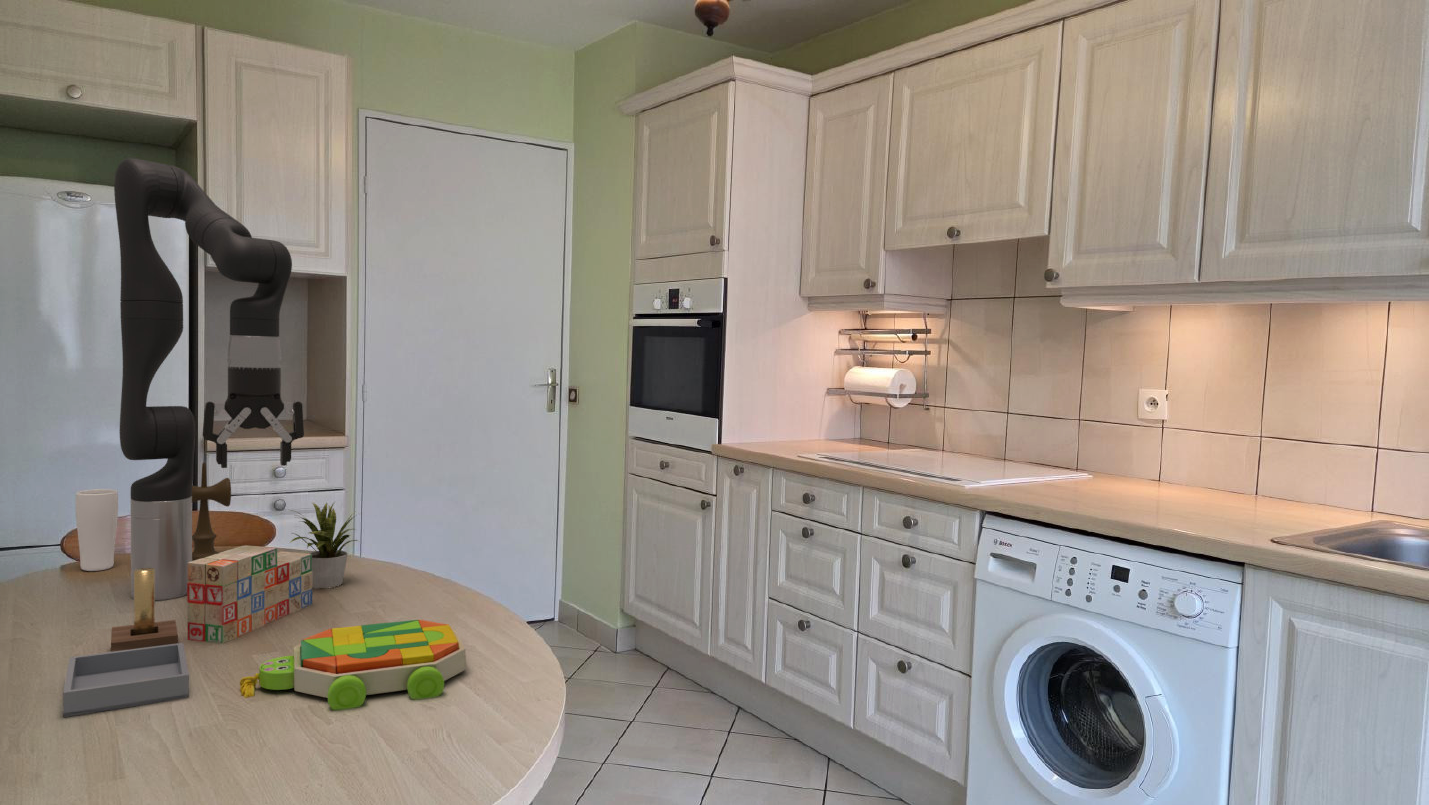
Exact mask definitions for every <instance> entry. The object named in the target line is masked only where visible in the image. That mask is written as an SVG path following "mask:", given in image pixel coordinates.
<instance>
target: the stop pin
mask: <svg viewBox="0 0 1429 805" xmlns="http://www.w3.org/2000/svg"><path fill="white" fill-rule="evenodd" d="M155 601H156V600H155V569H154V568H140V569H136V570H134V599H133V605H134V606H133V609H134V610H133V625H134V636H136V635H144V634H153V633H155V622H156V620H155V611H156V610H155V606H156V603H155Z"/></svg>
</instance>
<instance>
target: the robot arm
mask: <svg viewBox="0 0 1429 805" xmlns="http://www.w3.org/2000/svg"><path fill="white" fill-rule="evenodd" d="M113 184H114V185H113V186H114V189H113V190H114V191H113V193H114V194H113V195H114V204H115V214H116V215H115V216H116V222H117V231H118V239H119V240H118V241H119V252H120V254H119V255H120V256H119V257H120V299H119V300H120V302H119V303H120V305H119V306H120V309H119V310H120V328H121V329H120V330H121V332H120V334H121V349H122V350H121V351H122V352H121V353H122V354H121V355H122V380H121V397H120V413H119V414H120V415H119V444H120V449H121V452H122V454H123V456H124V457H125V458H126V459H127V460H130V461H147V460H149V461H150V460H165V459H166V460H167V461H166V463H165V464H164V465H163V467H161V468H160V469H159V470H157V471H156V472H154V473H152V474H150V475H147V476H145V477H142V478H140V479H137V480H135V481H134V482H132V483H131V486H130V598H132V599H133V600H134V570H136V569H140V568H154V569H155V601H164V600H165V601H166V600H171V599H177V598H181V597H184V596H187V583H188V562H191V561H193V560H192V553H193V540H192V535H193V503H192V485H193V484H194V483H193V481H194V466H195V465H194V462H195V461H194V460H195V450H196V448H195V447H196V445H195V444H196V421H195V416H194V414H193V412H192V411H191V409H190V408H188V407H187V406H183V405H166V406H165V405H160V406H158V405H156V406H152V405H151V406H147V401H148V393H149V391H150V386H151V383H152V381H153V379H154V377H155V375H156V374H157V372H158V370H159V368H161V366H162V364H164V362H165V360H166V359H167V357H169V355H170V354H171V352H172V351H173V349H174V347H175V346H176V344H177V343H178V342H179V340H180V338H181V336H182V334H183V331H184V298H183V297H184V296H183V292H182V289H181V287H180V285H179V283H178V281H177V280H176V278H175V276H174V274H172V272H171V270H170V269H169V267H168V265H167V264H166V263H165V261H164V260H163V258H162V257H161V255H160V254H159V252H158V250H157V248H156V246H155V244H154V240H153V239H152V233H151V228H150V223H149V221H150V220H149V216H150V217H155V218H161V219H177V220H181V221H183V222H184V226H185V231H186V234H187V235H188V237H189V238H190V239H191V241H192V242H193V243H194V244H195V245H196V246H198V247H199V248H200V249H201V250H203V251H204V252H205V253H207V254H208V255H209V256H210V257H211V260H212V261H213V263H214V264H215V266H216V269H217V271H218V272H219V273H220V275H221V276H223V277H225V278H226V279H229V280H231V281H234V282H241V283H251V284H257V288H256V290H255V292H254V294H253V295H252V296H247V297H240V298H236V299H234V300H233V301H232V302H231V303H230V306H229V340H228V341H229V342H228V348H227V398H226V400H225V402H215V401H211V400H207V401H206V402H205V403H204V411H203V412H204V413H203V424H202V438H203V439H204V440H205V441H209V442H213V443H215V453H216V455H215V460H216V463H217V464H218V465H220V467H221V468H222V469H227V468H228V444H227V443H226V442H227V441H228V439H229V438H230V437H231V436H232V435H233V434H234V433H236V432H235V431H237V429H238V428H241V429H244V430H251V429H255V428H256V429H260V430H263V429H264V430H265V429H267V428H270V427H271V428H272V429H273V430H274V432H276V433H275V434H277V435H278V436H279V437H280V439H281V441H280V445H279V447H280V453H279V454H280V455H279V456H280V457H279V458H280V463H279V464H280V465H281V467H283V466H287V465H288V463H290V462H291V461H292V444H293V442H294V441H295V440H299V439H303V438H304V436H305V431H304V428H305V427H304V414H303V403H302V402H301V401H298V400H294V401H290V402H289V401H287V402H283V400H282V396H281V394H282V393H281V390H282V388H281V387H282V386H281V383H282V382H281V381H282V379H281V378H282V375H281V374H282V367H281V366H282V360H283V359H282V351H281V350H282V348H281V342H280V313H281V312H280V311H281V307H282V306H283V301H284V297H285V293H286V290H287V287H288V284H289V281H290V279H291V274H292V269H293V260H292V256H291V254H290V251H289V249H288V248H287V246H286V245H285V244H283V243H282V242H280V241H278V240H274V239H273V240H272V239H267V238H258V237H256V238H255V237H252V234H251V232H250V230H249V229H248V228H247V227H246V226H245V225H243V223H241V222H239V221H238V220H237V219H236V218H234V217H233V216H232V215H230V214H229V213H227V212H226V211H224V210H222V209H221V208H220V207H219V206H218V205H216V204H215V202H214V201H213V200H212V199H211V198H210V197H209V195H208V194H207V193H206V192H205V191H204V190H203V189H202V188H201V187H202V186H200V185H199V184H198V182H197V181H196V180H195V179H194V178H193V177H192V176H191V175H190V174H189V172H186V171H185V170H184V169H182V168H180V167H179V166H178V167H177V166H175V165H171V164H166V163H161V162H155V161H150V160H145V159H141V158H140V159H139V158H134V157H133V158H132V157H130V158H129V157H128V158H124V159H123V160H121V161H120V162H119V164H118V165H117V168H116V171H115V175H114V183H113ZM284 409H285V410H286V411H287V413H288V414H289V415H290V416H292V425H293V426H292V428H293V431H290V432H288V431H287V430H286V429H285V427H284V426H283V425H282V424H281V422H280V421H279V420H278V419H277V418H278V417H279V416H280V414H281V413H283V411H284ZM223 410H224V411H225V412H226V413H227V414H228V416H229V417H230V420H228V422H227V423H225V425H224V427H223V428H222V429H221V431H219V433H215V432H214V423H215V422H214V421H215V418H214V417H216V416H219V415H220V412H221V411H223Z"/></svg>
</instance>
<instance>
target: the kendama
mask: <svg viewBox="0 0 1429 805" xmlns="http://www.w3.org/2000/svg"><path fill="white" fill-rule="evenodd" d="M201 466H202V467H201V478H200V479H201V480H200V486H196V485H193V484H192V504H193V503H195V502H198V501H199V511H198V518H197V525H196V528H195V532H194V534H192V542H193V550H192V561H195V560H198V559H201V558H205V557H208V556H212V555H215V554H219V553H218V552H217V551H216V550H215V545H214V544H215V539H217V537H218V536H217V534H215V533H214V531H213V528H212V524H211V519H210V513H209V511H210V510H209V503H208V501H214V502H217V503H219V504H221V505H222V506H224V507H230V505H231V501H232V484H231V480H230V478H229V477H225V478H223V479H222V480H220V481H218V482H217V483H215V484H213V485H209V486H208V484H207V483H208V482H207V479H208V478H207V465H206V462H204V461H203V462H202V464H201Z"/></svg>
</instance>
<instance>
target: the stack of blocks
mask: <svg viewBox="0 0 1429 805" xmlns="http://www.w3.org/2000/svg"><path fill="white" fill-rule="evenodd" d="M186 598H187V599H186V601H187V640H188V641H196V642H208V643H216V644H224V643H227V642H229V641H232V640H234V639H236V638H238V637H239V638H240V637H241V636H243V635H245V634H248V633H250V632H253V631H255V630H257V629H259V628H261V627H265V625H267V624H270V623H272V622H274V621H276V620H279V619H281V618H283V617H286V616H287V615H290V614H293V613H296V612H298V611H299V610H302V609H305V608H306V607H309V606H311V605H312V604H313V572H312V554H308V553H305V552H304V553H303V552H291V551H281V550H280V551H278V547H269V546H256V545H246V544H245V545H241V546H237V547H234V548H232V549H227V550H225V551H221V552H219V553H218V554H215V555H212V556H208V557H205V558H201V559H198V560H192V561H191V562H188V583H187V595H186Z"/></svg>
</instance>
